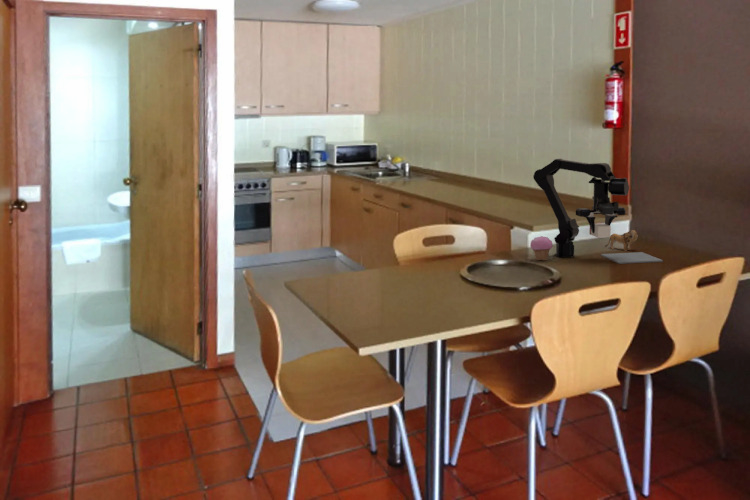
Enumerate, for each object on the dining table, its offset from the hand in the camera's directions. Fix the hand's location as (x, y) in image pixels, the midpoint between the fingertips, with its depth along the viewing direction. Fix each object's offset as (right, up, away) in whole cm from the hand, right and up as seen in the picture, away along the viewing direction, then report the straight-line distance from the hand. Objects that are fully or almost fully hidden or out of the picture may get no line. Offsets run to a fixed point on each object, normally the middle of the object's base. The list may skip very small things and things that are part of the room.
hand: (599, 232), depth 273 cm
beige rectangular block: (0, -1, 0) cm, 1 cm away
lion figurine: (+17, -7, +22) cm, 29 cm away
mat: (+13, -11, +2) cm, 17 cm away
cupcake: (-23, -12, +5) cm, 26 cm away
